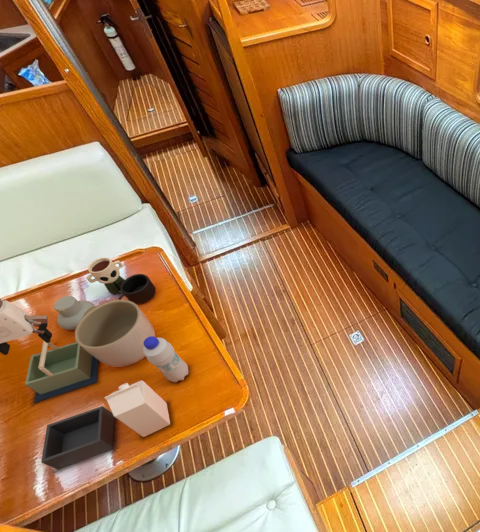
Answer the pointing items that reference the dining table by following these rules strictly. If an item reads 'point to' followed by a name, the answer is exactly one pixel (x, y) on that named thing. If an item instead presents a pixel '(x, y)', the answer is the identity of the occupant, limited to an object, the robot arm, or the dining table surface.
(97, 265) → the character mug
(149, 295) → the mug
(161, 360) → the bottle
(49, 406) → the dining table surface
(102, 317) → the planter
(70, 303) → the air freshener
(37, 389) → the box
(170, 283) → the dining table surface
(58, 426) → the box
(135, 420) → the milk carton
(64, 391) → the mat
